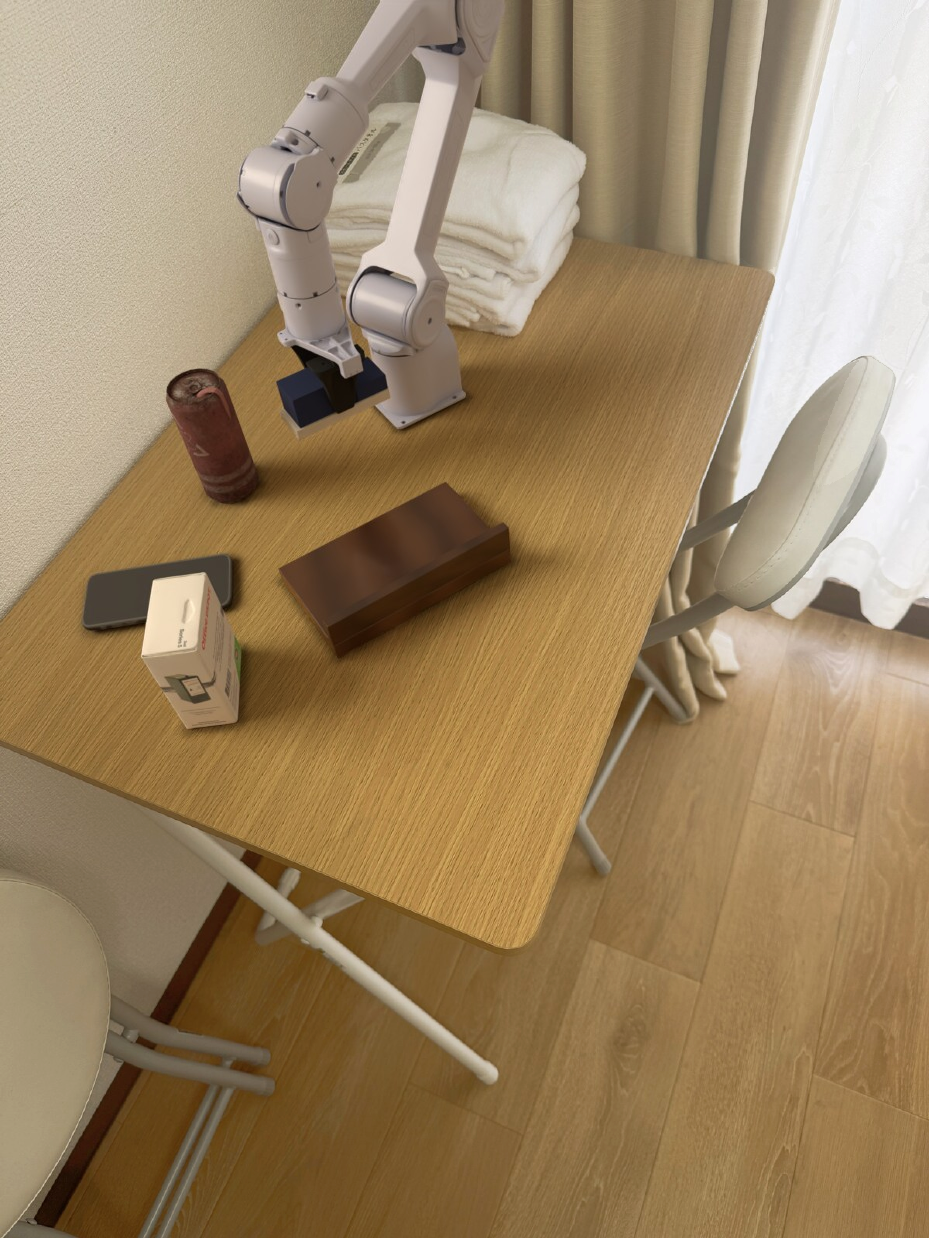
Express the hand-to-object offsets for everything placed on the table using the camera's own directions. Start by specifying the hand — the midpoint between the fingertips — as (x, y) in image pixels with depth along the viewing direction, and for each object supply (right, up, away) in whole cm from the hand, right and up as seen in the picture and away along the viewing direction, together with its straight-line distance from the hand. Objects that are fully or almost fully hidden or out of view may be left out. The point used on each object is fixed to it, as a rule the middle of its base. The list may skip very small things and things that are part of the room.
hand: (334, 397), depth 97 cm
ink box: (-10, -30, -11) cm, 33 cm away
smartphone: (-17, -21, -4) cm, 27 cm away
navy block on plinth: (0, -1, +1) cm, 1 cm away
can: (-12, -9, +6) cm, 16 cm away
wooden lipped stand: (+7, -19, -4) cm, 20 cm away
